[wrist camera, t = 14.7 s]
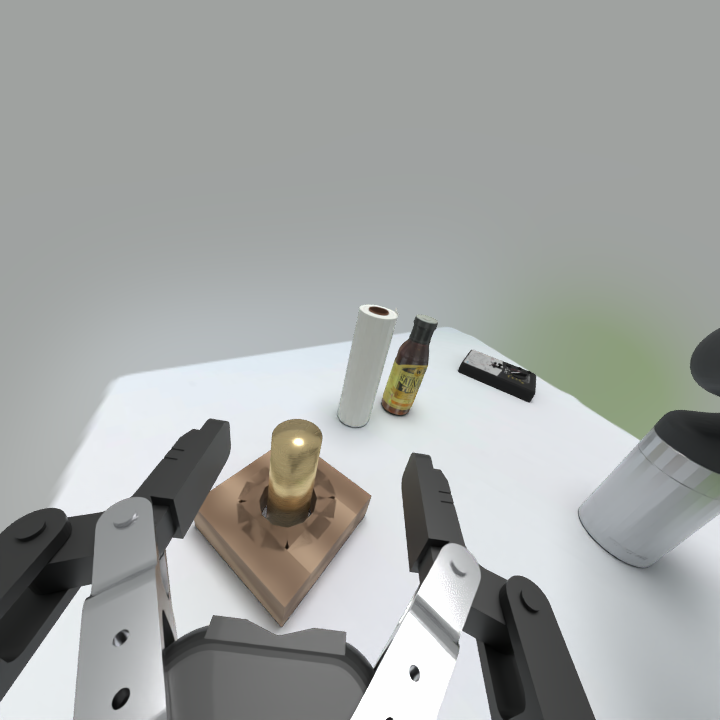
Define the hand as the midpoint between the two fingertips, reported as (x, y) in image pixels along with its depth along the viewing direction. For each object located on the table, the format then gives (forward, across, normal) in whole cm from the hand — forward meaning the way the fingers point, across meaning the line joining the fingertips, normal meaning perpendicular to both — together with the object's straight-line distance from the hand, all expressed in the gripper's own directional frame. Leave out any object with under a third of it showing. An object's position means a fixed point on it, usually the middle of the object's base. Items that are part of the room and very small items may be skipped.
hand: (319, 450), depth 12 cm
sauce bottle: (+38, -13, +26) cm, 47 cm away
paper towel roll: (+32, -4, +26) cm, 41 cm away
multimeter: (+60, -44, +28) cm, 79 cm away
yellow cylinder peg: (+11, +3, +25) cm, 27 cm away
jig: (+11, +3, +25) cm, 27 cm away
